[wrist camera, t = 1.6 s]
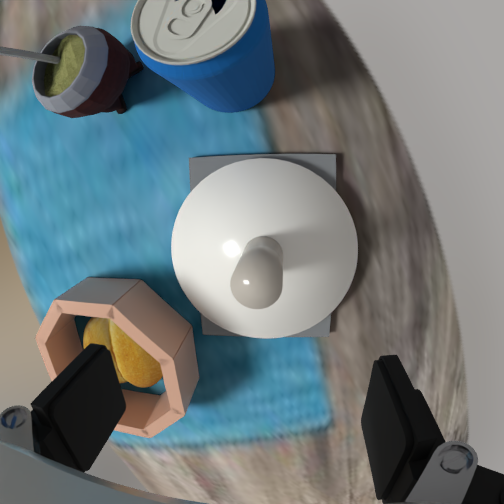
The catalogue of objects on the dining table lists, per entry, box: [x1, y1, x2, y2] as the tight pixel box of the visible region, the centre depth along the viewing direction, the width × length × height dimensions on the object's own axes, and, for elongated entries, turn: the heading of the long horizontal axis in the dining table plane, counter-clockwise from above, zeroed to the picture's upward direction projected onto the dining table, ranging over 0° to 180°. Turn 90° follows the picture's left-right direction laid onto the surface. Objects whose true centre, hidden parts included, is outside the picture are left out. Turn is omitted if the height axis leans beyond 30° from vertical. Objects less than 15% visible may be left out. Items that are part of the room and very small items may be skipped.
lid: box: [171, 158, 358, 338], centre depth 21 cm, size 14×14×7 cm
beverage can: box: [131, 0, 275, 113], centre depth 16 cm, size 6×6×12 cm
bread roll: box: [83, 317, 163, 388], centre depth 28 cm, size 8×9×4 cm
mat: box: [189, 154, 336, 337], centre depth 25 cm, size 15×11×1 cm
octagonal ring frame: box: [36, 277, 199, 438], centre depth 27 cm, size 15×15×6 cm
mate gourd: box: [0, 26, 144, 118], centre depth 15 cm, size 8×8×15 cm
